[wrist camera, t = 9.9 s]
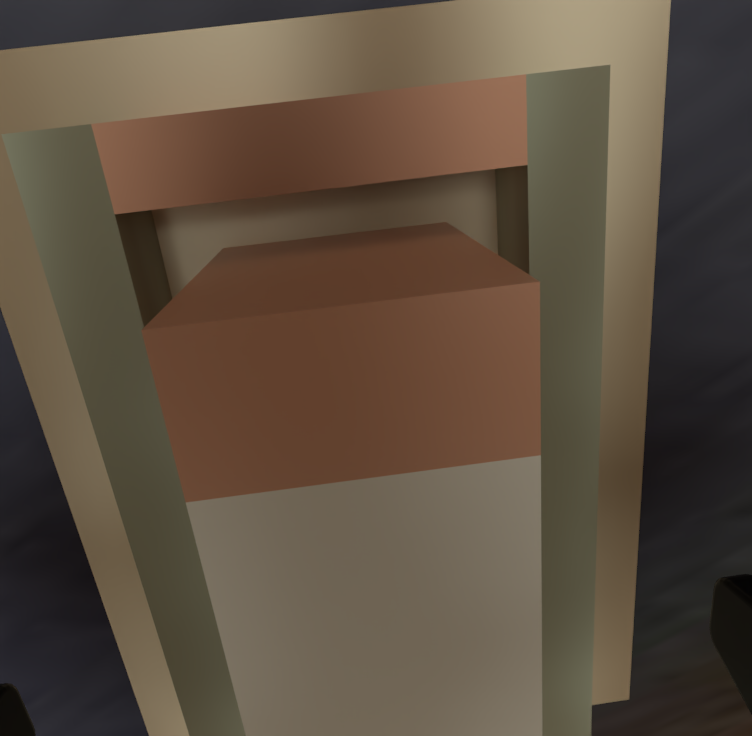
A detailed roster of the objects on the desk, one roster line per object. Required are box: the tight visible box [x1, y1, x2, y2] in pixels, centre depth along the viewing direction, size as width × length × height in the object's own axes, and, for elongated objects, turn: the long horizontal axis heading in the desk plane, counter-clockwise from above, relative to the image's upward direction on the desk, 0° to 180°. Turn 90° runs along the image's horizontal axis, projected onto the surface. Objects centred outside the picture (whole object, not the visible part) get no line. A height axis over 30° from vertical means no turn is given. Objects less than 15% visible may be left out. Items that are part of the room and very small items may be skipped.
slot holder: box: [0, 0, 671, 736], centre depth 12 cm, size 12×16×2 cm
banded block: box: [141, 222, 542, 736], centre depth 10 cm, size 9×4×5 cm, turn 6°
